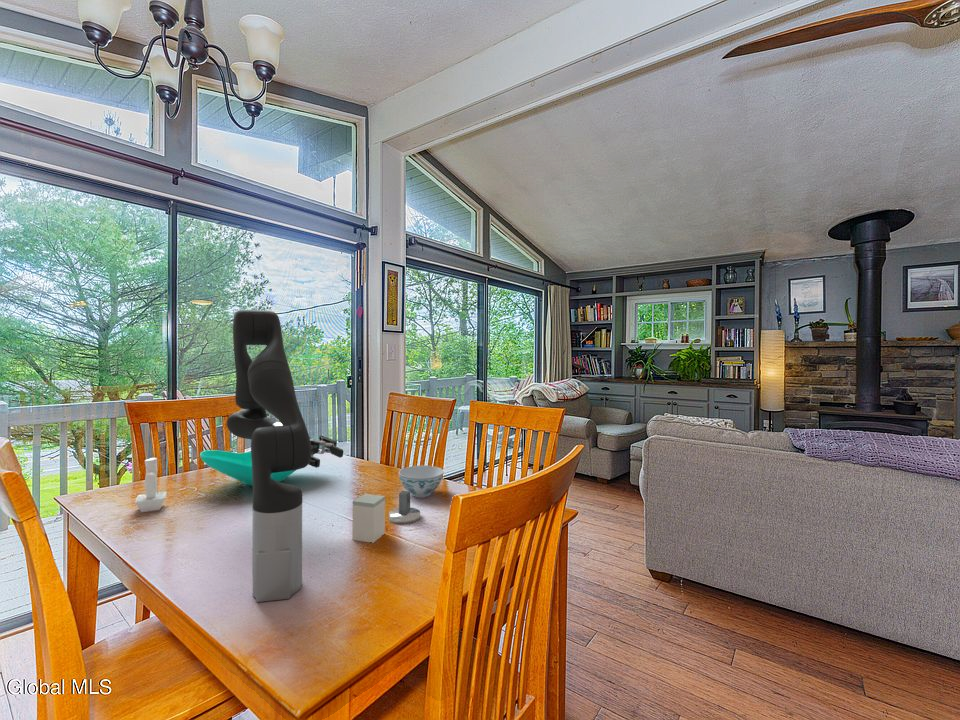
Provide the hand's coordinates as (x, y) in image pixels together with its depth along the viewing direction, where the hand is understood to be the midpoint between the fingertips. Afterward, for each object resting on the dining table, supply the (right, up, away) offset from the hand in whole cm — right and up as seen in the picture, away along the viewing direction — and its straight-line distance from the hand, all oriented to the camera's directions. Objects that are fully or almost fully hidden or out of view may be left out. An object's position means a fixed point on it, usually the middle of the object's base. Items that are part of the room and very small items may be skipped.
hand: (331, 458), depth 120 cm
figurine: (-58, -18, +15) cm, 63 cm away
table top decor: (-37, -18, +41) cm, 58 cm away
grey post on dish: (+18, -19, +11) cm, 28 cm away
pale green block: (+11, -20, -2) cm, 23 cm away
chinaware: (+20, -19, +32) cm, 42 cm away
